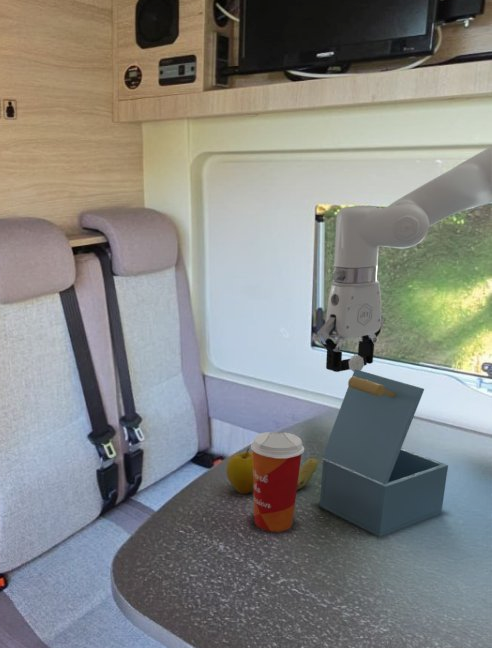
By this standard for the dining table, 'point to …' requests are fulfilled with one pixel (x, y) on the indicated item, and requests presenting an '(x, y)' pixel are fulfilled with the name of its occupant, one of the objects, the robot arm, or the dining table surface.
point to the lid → (372, 424)
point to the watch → (353, 363)
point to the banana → (306, 472)
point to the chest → (385, 493)
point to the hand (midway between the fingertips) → (349, 365)
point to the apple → (241, 472)
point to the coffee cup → (275, 479)
